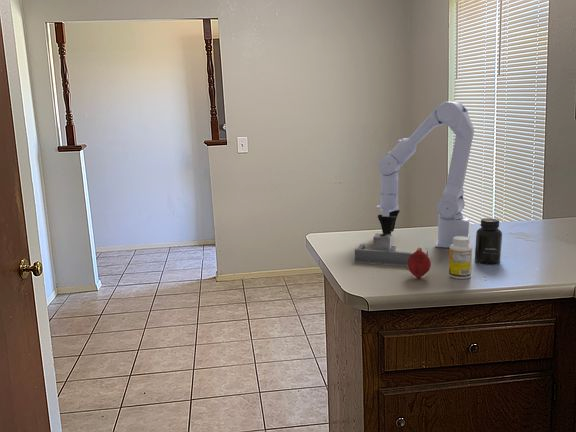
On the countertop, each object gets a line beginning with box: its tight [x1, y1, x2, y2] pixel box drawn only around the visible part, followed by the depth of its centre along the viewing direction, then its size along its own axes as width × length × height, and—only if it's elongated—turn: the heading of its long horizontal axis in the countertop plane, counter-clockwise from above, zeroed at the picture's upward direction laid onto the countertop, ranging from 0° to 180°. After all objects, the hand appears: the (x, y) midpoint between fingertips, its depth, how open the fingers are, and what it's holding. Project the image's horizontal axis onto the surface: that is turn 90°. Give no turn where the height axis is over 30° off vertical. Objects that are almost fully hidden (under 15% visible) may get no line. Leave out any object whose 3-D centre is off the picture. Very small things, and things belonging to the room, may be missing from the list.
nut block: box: [372, 233, 393, 251], centre depth 174 cm, size 5×5×4 cm
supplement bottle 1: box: [448, 236, 473, 280], centre depth 144 cm, size 6×6×10 cm
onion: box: [407, 247, 432, 279], centre depth 144 cm, size 6×6×8 cm
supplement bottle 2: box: [474, 217, 503, 265], centre depth 157 cm, size 7×7×12 cm
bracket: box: [353, 243, 429, 267], centre depth 160 cm, size 20×10×4 cm, turn 72°
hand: (388, 233), depth 186 cm, fingers open, 7 cm apart
